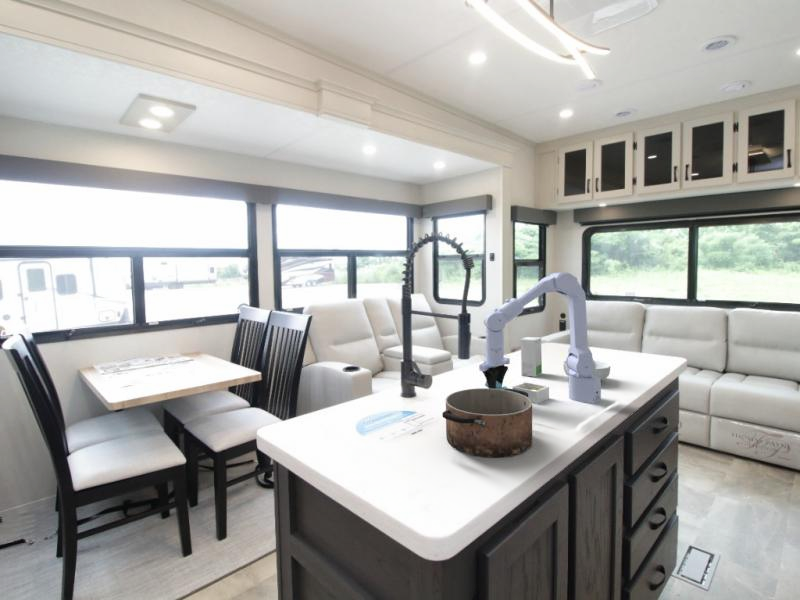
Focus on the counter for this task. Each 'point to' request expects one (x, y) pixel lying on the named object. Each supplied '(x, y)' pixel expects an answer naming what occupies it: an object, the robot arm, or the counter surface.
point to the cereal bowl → (600, 371)
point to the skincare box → (531, 356)
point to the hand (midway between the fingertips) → (495, 388)
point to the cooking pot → (489, 422)
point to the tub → (533, 395)
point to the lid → (497, 386)
